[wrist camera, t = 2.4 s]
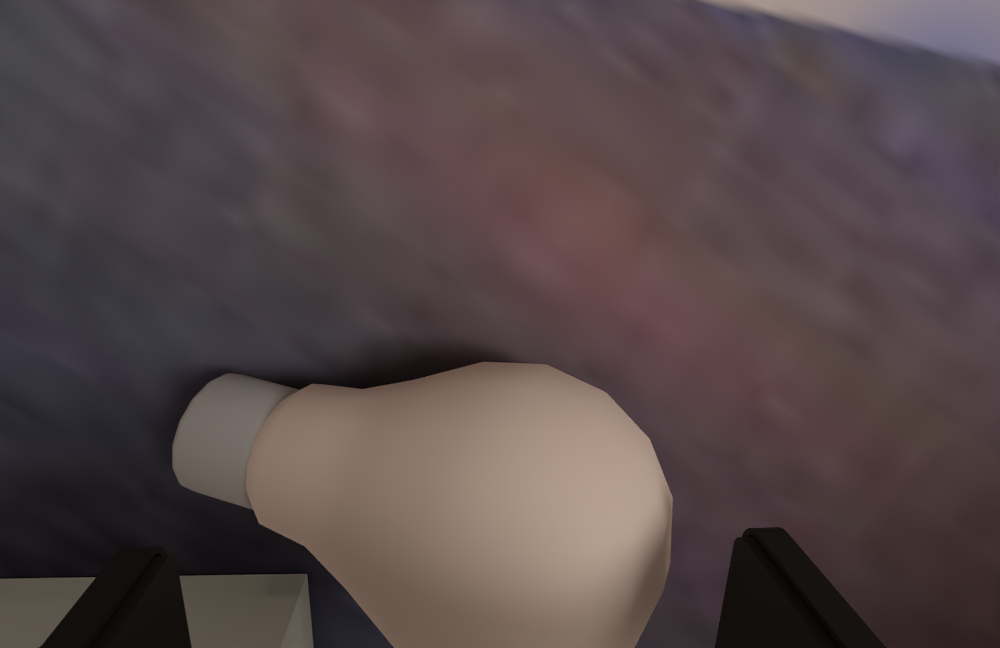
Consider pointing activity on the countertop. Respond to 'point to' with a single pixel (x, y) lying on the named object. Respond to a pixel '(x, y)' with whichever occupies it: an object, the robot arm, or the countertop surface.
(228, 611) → the tray
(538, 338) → the countertop surface
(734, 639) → the robot arm
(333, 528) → the light bulb
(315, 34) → the countertop surface
